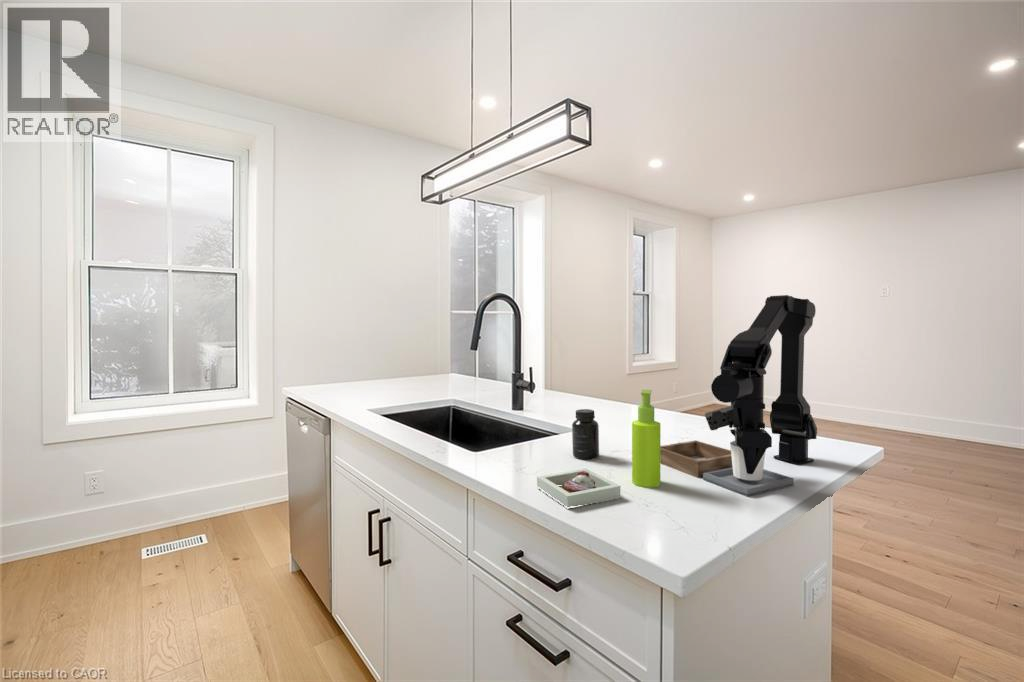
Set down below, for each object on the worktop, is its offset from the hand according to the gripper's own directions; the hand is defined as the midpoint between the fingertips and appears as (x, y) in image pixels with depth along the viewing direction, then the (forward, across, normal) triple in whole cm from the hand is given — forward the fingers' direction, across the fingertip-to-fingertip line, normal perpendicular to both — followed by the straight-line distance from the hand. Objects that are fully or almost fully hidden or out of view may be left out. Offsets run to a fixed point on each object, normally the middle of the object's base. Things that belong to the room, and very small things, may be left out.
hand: (747, 469), depth 99 cm
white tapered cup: (+2, 0, 0) cm, 2 cm away
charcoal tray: (+3, 0, 0) cm, 3 cm away
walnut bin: (+3, -10, -10) cm, 14 cm away
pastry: (+3, +19, -33) cm, 38 cm away
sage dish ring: (+3, +18, -33) cm, 38 cm away
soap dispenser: (+3, +6, -21) cm, 22 cm away
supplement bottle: (+3, -8, -37) cm, 38 cm away
